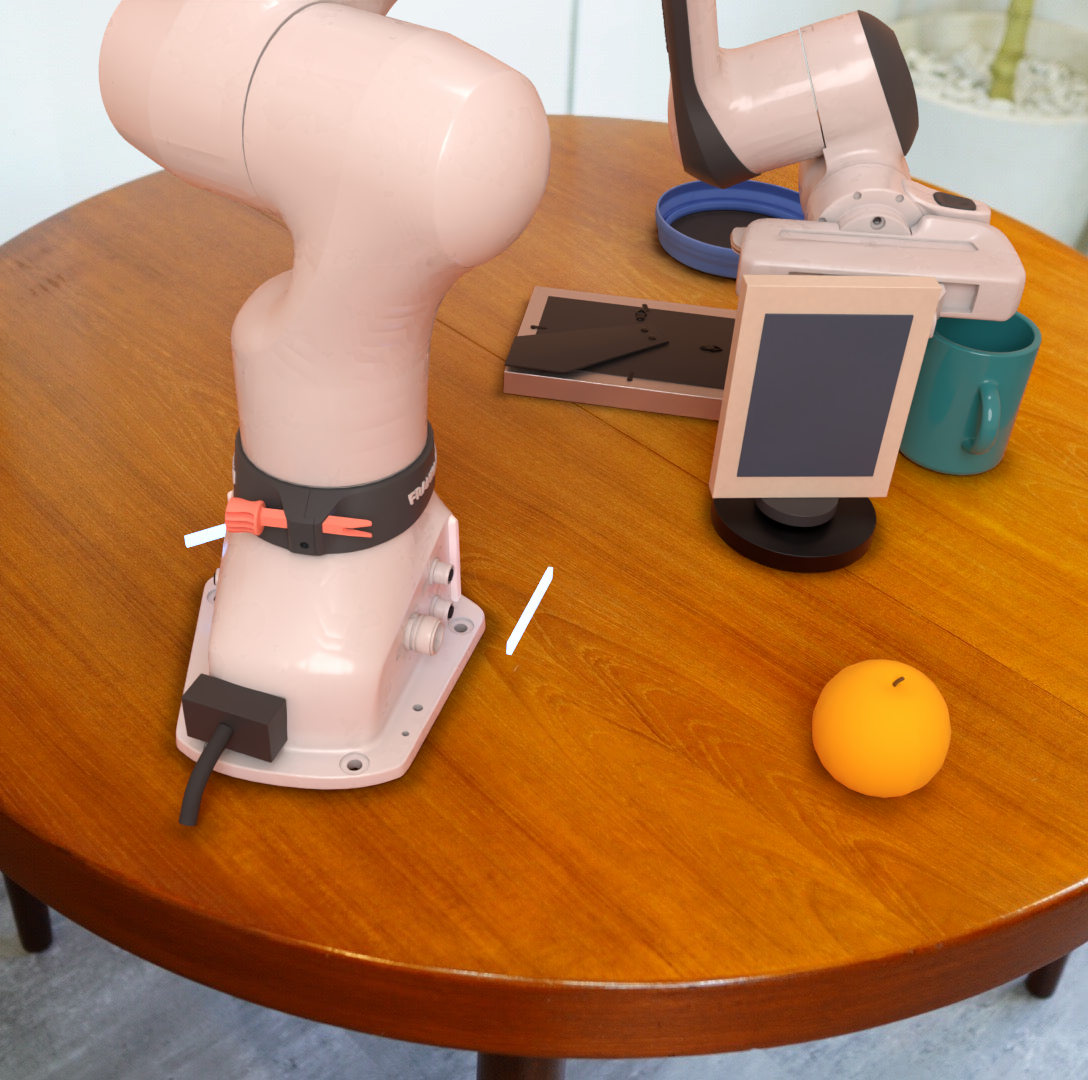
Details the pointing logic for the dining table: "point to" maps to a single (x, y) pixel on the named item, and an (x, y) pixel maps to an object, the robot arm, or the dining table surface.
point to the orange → (881, 728)
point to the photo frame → (819, 390)
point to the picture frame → (622, 353)
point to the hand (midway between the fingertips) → (889, 326)
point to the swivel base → (796, 535)
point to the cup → (969, 393)
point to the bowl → (717, 220)
